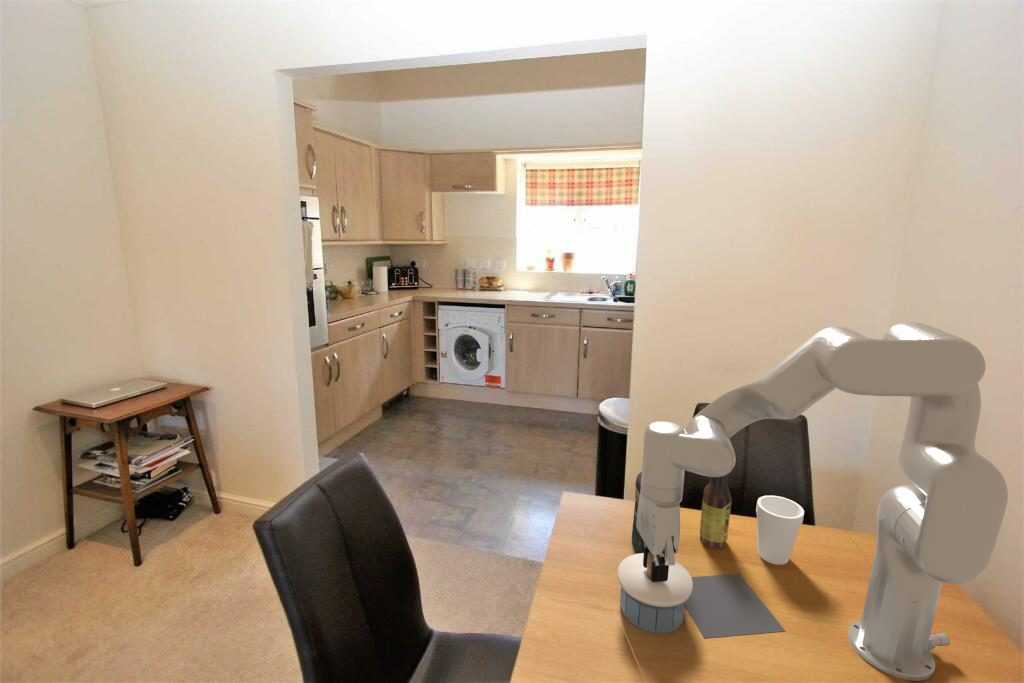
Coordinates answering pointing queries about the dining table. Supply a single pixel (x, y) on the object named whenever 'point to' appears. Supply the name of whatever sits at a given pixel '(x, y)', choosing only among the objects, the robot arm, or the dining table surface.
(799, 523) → the foam cup
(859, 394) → the robot arm
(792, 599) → the dining table surface
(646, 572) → the lid
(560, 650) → the dining table surface
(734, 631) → the mat
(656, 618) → the bowl
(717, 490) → the sauce bottle
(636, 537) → the coffee jar
